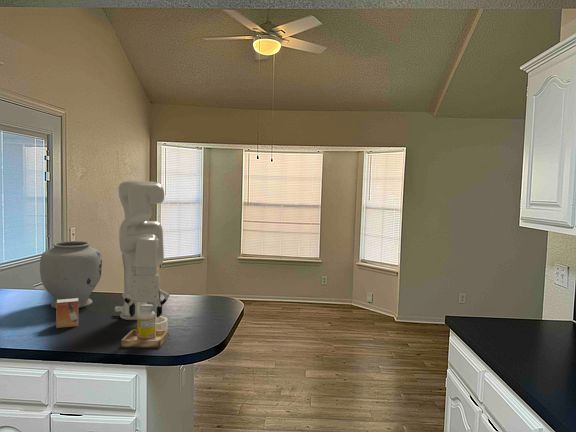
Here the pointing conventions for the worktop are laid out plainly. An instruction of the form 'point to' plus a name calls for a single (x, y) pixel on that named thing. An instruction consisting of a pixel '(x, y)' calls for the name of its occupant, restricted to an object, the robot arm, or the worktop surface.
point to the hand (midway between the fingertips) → (145, 315)
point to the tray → (132, 341)
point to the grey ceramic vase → (71, 271)
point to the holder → (161, 323)
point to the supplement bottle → (146, 323)
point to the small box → (67, 313)
